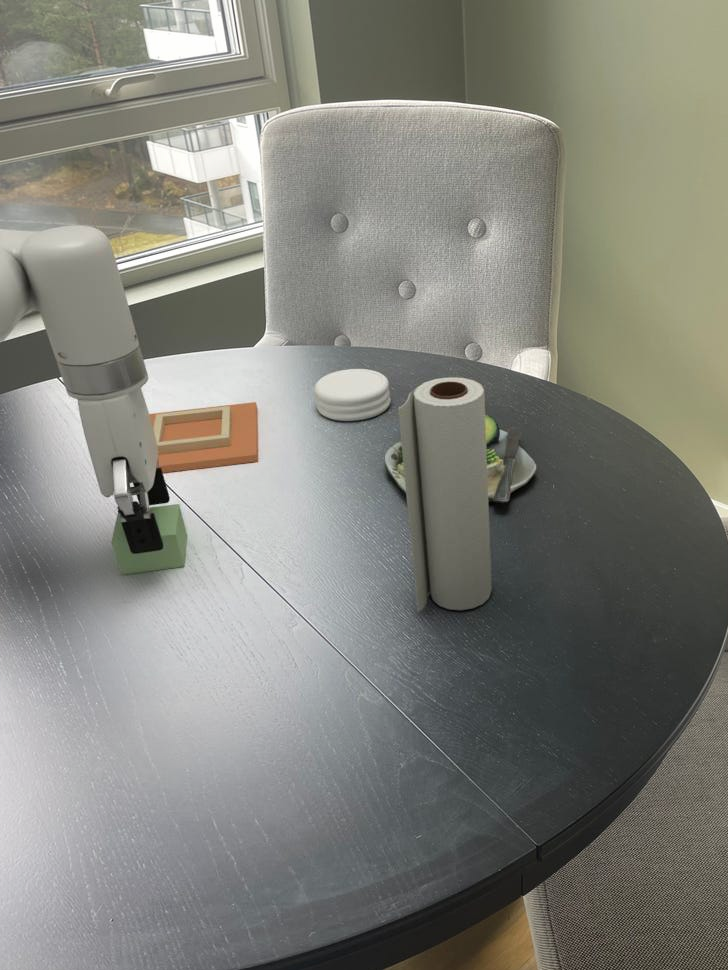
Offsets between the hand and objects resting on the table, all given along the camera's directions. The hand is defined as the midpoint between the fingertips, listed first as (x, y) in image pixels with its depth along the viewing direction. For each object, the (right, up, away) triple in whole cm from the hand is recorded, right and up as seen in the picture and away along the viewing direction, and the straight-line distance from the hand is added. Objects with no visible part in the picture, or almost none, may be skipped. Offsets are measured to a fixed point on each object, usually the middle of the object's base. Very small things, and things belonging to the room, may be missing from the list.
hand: (151, 526), depth 101 cm
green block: (0, -3, +2) cm, 4 cm away
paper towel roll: (+32, -8, -6) cm, 33 cm away
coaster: (+17, +20, +30) cm, 40 cm away
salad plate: (+32, +8, +14) cm, 36 cm away
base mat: (-2, +14, +24) cm, 27 cm away
